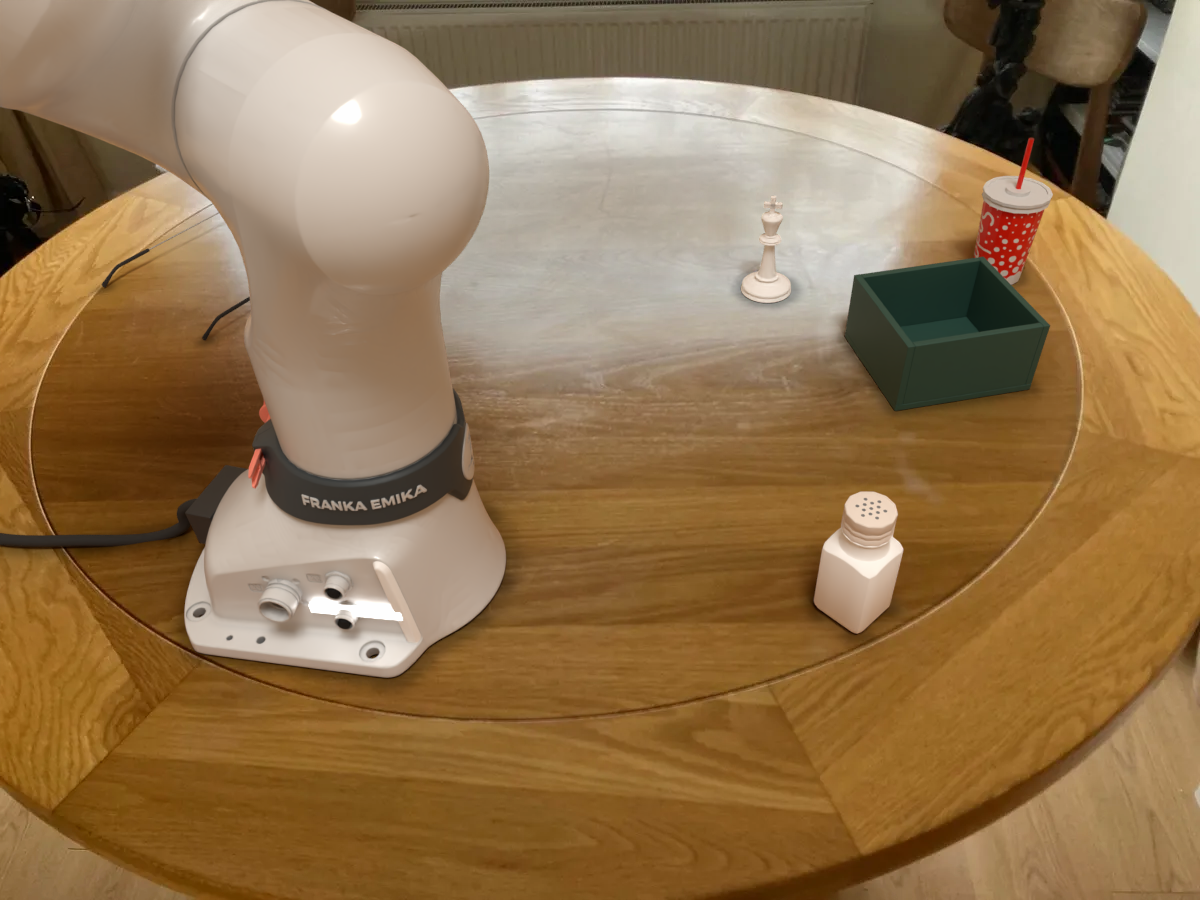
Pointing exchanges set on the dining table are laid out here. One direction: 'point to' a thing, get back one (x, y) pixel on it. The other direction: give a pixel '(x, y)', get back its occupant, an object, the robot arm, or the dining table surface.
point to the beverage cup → (1011, 220)
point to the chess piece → (768, 262)
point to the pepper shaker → (860, 562)
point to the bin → (944, 332)
